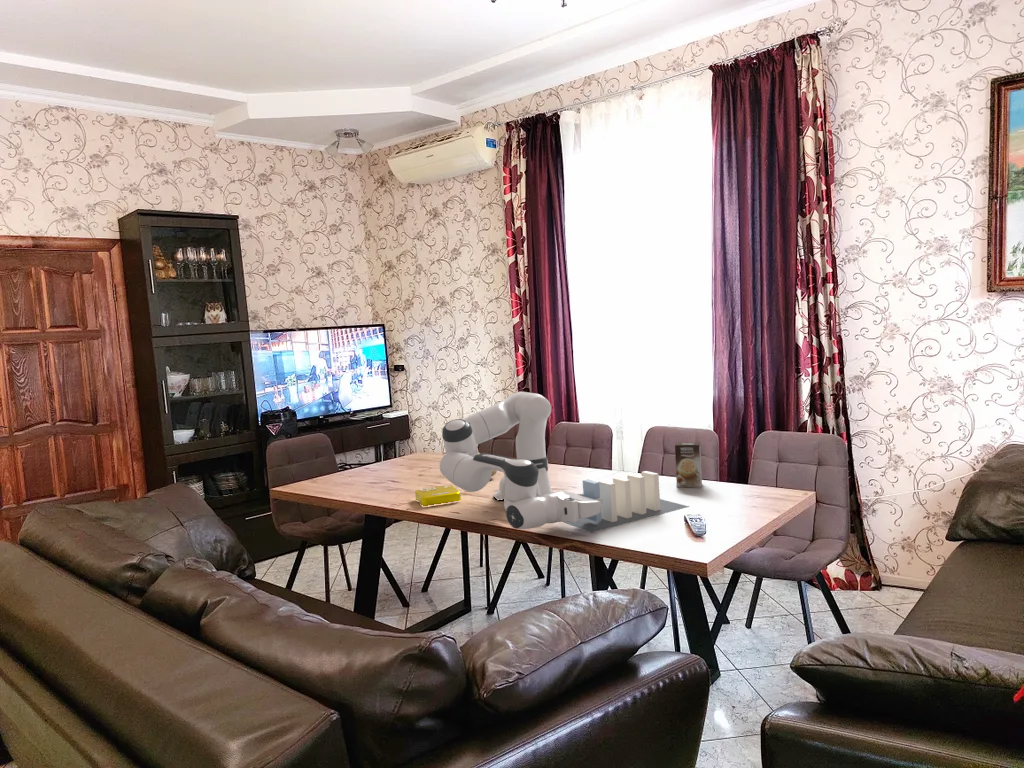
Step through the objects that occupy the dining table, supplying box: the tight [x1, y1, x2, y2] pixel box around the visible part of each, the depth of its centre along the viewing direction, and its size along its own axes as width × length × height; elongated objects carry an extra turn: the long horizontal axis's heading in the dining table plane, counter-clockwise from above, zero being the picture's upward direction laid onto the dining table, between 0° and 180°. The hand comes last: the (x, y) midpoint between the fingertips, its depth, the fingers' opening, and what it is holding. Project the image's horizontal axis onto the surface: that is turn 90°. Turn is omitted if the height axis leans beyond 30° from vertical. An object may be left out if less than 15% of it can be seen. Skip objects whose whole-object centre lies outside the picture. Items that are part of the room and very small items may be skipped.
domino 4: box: [640, 470, 661, 511], centre depth 229 cm, size 2×6×12 cm, turn 30°
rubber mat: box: [563, 498, 690, 534], centre depth 228 cm, size 40×22×1 cm, turn 121°
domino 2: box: [612, 477, 632, 518], centre depth 223 cm, size 2×6×12 cm, turn 30°
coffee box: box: [674, 441, 703, 488], centre depth 260 cm, size 9×6×16 cm
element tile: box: [414, 484, 462, 506], centre depth 266 cm, size 15×15×5 cm
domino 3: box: [626, 473, 646, 514], centre depth 226 cm, size 2×6×12 cm, turn 30°
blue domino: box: [582, 479, 602, 522], centre depth 217 cm, size 2×6×12 cm, turn 30°
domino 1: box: [598, 480, 617, 522], centre depth 220 cm, size 2×6×12 cm, turn 30°
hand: (594, 498), depth 218 cm, fingers closed on blue domino, 6 cm apart
